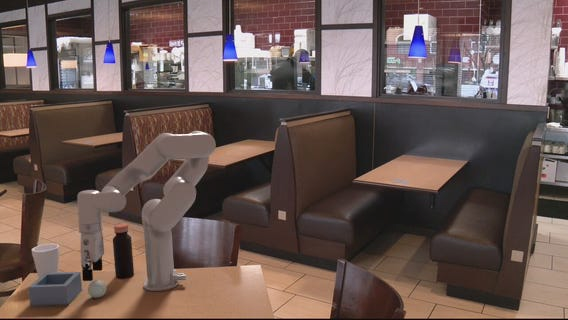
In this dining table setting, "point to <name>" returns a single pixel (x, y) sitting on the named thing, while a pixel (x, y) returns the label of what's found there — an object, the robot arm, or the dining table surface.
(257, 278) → the dining table surface
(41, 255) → the foam cup
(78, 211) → the robot arm
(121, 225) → the bottle
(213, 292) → the dining table surface
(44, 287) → the blue-grey open box
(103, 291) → the ball
